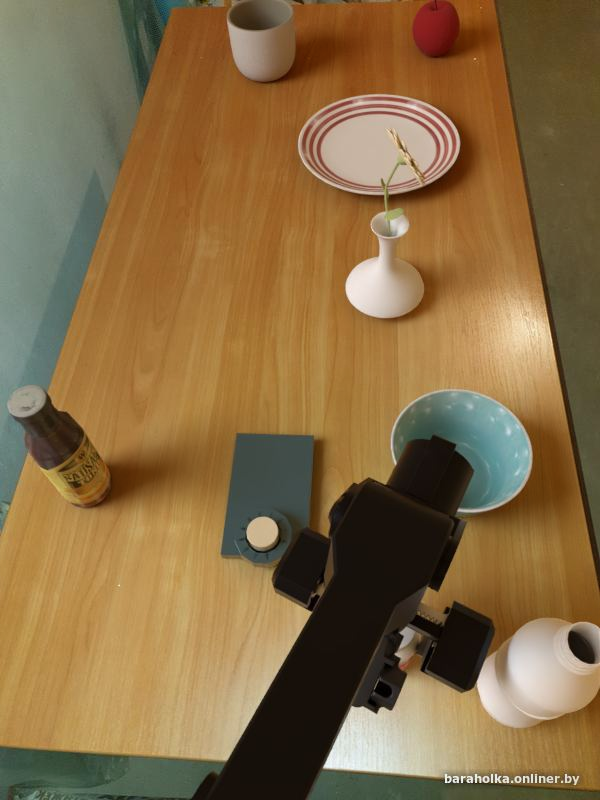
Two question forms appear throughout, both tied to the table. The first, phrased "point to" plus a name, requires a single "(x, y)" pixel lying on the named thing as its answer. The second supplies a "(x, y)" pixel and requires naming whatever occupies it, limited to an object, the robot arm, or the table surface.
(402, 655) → the pill bottle
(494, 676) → the water bottle
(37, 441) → the sauce bottle
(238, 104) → the table surface
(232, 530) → the teal rectangular base
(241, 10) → the planter
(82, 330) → the table surface
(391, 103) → the dinner plate
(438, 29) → the apple
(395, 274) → the flower in vase
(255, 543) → the beige round cap
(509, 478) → the bowl
